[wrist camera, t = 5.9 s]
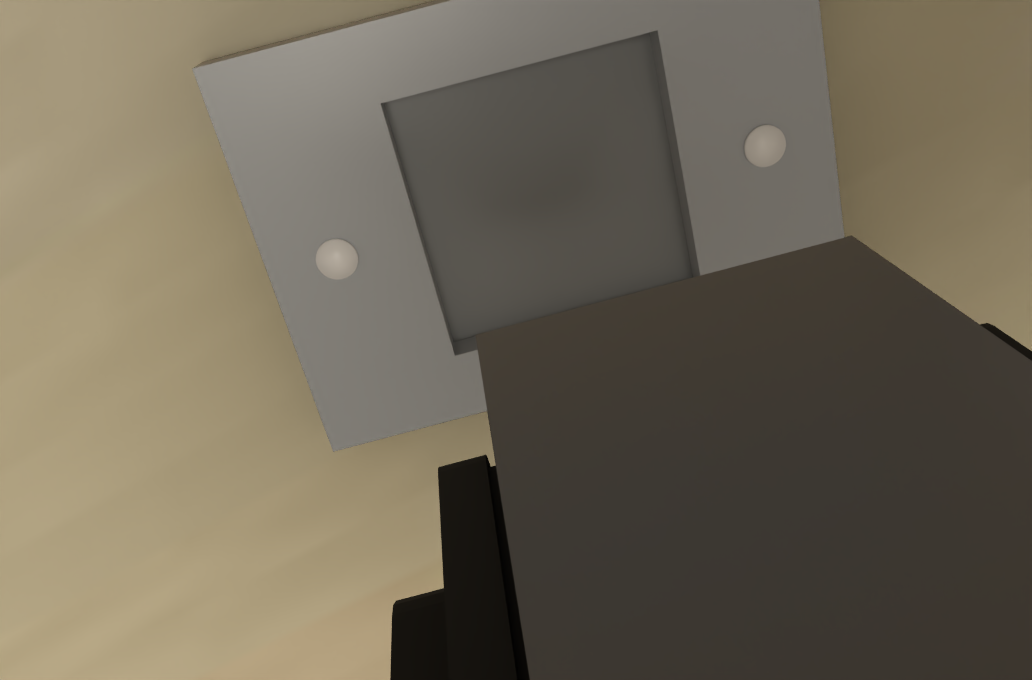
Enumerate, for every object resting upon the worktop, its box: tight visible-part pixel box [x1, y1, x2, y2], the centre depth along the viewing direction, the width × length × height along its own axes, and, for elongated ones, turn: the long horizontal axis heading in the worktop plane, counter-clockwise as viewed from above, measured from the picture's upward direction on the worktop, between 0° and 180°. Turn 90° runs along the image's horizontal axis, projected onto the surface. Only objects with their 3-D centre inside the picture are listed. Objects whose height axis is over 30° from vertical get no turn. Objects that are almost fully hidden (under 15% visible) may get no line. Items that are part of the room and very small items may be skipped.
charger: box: [475, 236, 1032, 680], centre depth 9 cm, size 4×4×7 cm
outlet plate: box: [192, 0, 844, 452], centre depth 24 cm, size 14×10×1 cm
